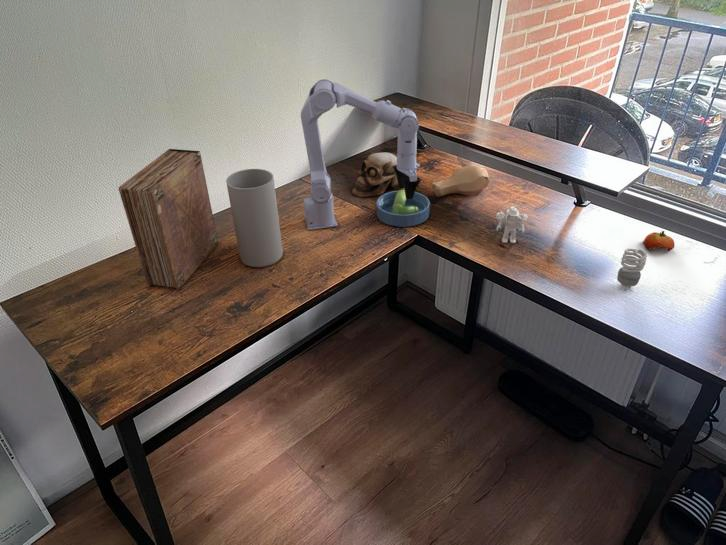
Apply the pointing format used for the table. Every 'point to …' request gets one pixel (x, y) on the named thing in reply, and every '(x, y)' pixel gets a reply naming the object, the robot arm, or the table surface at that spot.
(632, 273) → the light bulb
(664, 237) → the tomato
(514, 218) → the hat wearing toy figure
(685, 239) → the table surface
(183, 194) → the book
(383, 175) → the coin bank
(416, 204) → the bowl
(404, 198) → the pale zucchini
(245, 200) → the cylinder vase
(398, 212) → the green zucchini
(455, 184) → the squash
